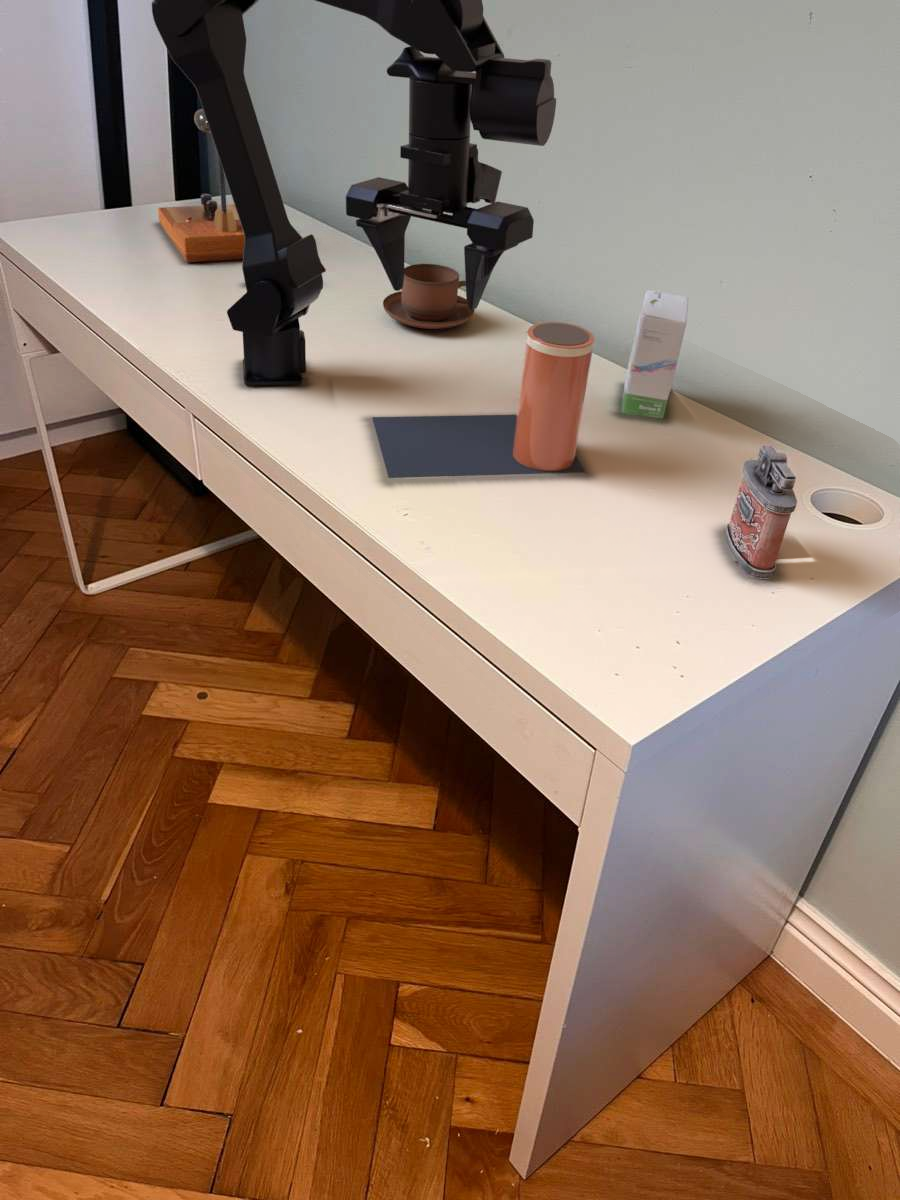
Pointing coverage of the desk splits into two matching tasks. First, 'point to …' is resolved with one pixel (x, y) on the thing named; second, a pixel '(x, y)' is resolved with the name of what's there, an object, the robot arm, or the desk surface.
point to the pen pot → (552, 395)
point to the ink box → (654, 354)
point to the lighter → (761, 512)
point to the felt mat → (452, 446)
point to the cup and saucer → (429, 298)
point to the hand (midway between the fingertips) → (434, 299)
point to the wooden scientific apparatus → (205, 223)
